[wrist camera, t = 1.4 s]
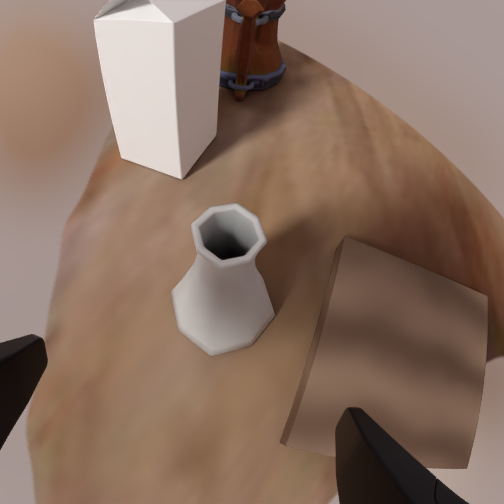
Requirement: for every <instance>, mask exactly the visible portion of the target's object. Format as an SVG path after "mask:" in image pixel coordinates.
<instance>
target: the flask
mask: <svg viewBox="0 0 504 504" xmlns="http://www.w3.org/2000/svg"><path fill="white" fill-rule="evenodd" d="M191 228H192V233H193V237H194V242H195V246H196V251H197V256H196V260H195V263H194V264H193V265H192V267H191V268H190V269H189V271H188V272H187V273H186V275H185V276H184V277H183V279H182V280H181V281H180V282H179V283H178V284H177V285H176V287H175V288H174V289H173V290H172V291H171V296H172V301H173V306H174V311H175V315H176V320H177V324H178V329H179V331H181V332H182V333H183V334H184V335H185V336H187V337H188V338H189V339H190V340H191V341H193V342H194V343H195V344H196V345H198V346H199V347H200V348H201V349H202V350H204V351H205V352H206V353H207V354H209V355H210V356H213V355H218V354H222V353H226V352H230V351H234V350H238V349H242V348H246V347H250V346H252V345H253V343H254V342H255V341H256V340H257V338H258V337H259V336H260V334H261V333H262V332H263V331H264V329H265V328H266V327H267V325H268V324H269V323H270V321H271V320H272V319H273V318H274V316H275V313H274V310H273V307H272V304H271V301H270V298H269V295H268V292H267V289H266V286H265V283H264V280H263V278H262V276H261V274H260V273H259V271H258V270H257V268H256V266H255V258H256V255H257V254H258V252H259V251H260V250H261V249H262V248H263V247H264V246H265V244H266V243H267V239H266V236H265V233H264V231H263V228H262V225H261V222H260V219H259V217H258V216H256V215H255V214H253V213H252V212H250V211H249V210H248V209H246V208H245V207H243V206H242V205H240V204H239V203H237V202H235V203H229V204H224V205H218V206H212V207H209V208H208V209H207V210H206V211H205V212H204V213H203V214H202V215H201V216H200V217H199V218H198V219H197V220H196V221H194V222H193V223H192V224H191Z"/></svg>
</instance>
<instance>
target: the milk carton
mask: <svg viewBox="0 0 504 504" xmlns="http://www.w3.org/2000/svg"><path fill="white" fill-rule="evenodd" d="M225 6H226V0H109V1H108V2H107V4H106V5H105V6H104V7H103V8H102V10H101V11H100V12H99V13H98V14H97V16H96V17H95V18H94V28H95V34H96V41H97V47H98V53H99V59H100V65H101V70H102V76H103V81H104V86H105V91H106V95H107V100H108V105H109V109H110V113H111V118H112V122H113V126H114V130H115V134H116V138H117V142H118V146H119V150H120V154H121V157H122V158H123V159H126V160H129V161H131V162H134V163H137V164H140V165H143V166H146V167H148V168H151V169H154V170H157V171H160V172H163V173H165V174H168V175H171V176H174V177H176V178H179V179H183V178H184V177H185V175H186V174H187V173H188V171H189V170H190V169H191V167H192V166H193V165H194V163H195V162H196V161H197V159H198V158H199V157H200V156H201V154H202V153H203V152H204V150H205V149H206V148H207V147H208V145H209V144H210V143H211V141H212V140H213V139H214V138H215V136H216V133H217V114H218V97H219V81H220V66H221V52H222V40H223V28H224V16H225Z"/></svg>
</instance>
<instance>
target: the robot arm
mask: <svg viewBox="0 0 504 504" xmlns="http://www.w3.org/2000/svg"><path fill="white" fill-rule="evenodd" d="M47 363H48V358H47V353H46V347H45V342H44V340H43V338H41V337H39V336H37V335H34V334H30V335H27V336H23V337H20V338H16V339H13V340H10V341H6V342H2V343H0V450H1V448H2V446H3V444H4V443H5V441H6V439H7V437H8V436H9V434H10V432H11V430H12V429H13V427H14V425H15V424H16V422H17V420H18V419H19V417H20V415H21V414H22V412H23V411H24V409H25V407H26V406H27V404H28V402H29V400H30V398H31V396H32V394H33V392H34V390H35V388H36V386H37V384H38V382H39V380H40V378H41V376H42V374H43V373H44V371H45V369H46V367H47ZM335 452H336V480H337V487H338V495H339V502H340V504H469V503H467V502H466V501H465V500H463V499H462V498H460V497H459V496H458V495H457V494H455V493H454V492H453V491H452V490H450V489H449V488H448V487H447V486H446V485H445V484H443V483H442V482H441V481H440V480H439V479H436V477H435V476H434V475H433V474H432V473H431V472H430V471H429V470H428V469H426V468H425V467H424V466H423V465H422V464H421V463H420V462H419V461H418V460H416V459H415V458H414V457H413V456H412V455H411V454H410V453H409V452H408V451H407V450H405V449H404V448H403V447H402V446H401V445H400V444H399V443H398V442H397V441H396V440H395V439H394V438H392V437H391V436H390V435H389V434H388V433H387V432H386V431H385V430H384V429H383V428H382V427H381V426H380V425H379V424H378V423H376V422H375V421H374V420H373V419H372V418H371V417H370V416H369V415H368V414H367V413H366V412H365V411H364V410H363V409H362V408H359V407H347V408H346V409H345V411H344V412H343V414H342V416H341V418H340V420H339V422H338V424H337V426H336V429H335Z"/></svg>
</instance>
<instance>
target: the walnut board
mask: <svg viewBox="0 0 504 504" xmlns="http://www.w3.org/2000/svg"><path fill="white" fill-rule="evenodd" d="M487 332H488V296H485V295H483V294H481V293H479V292H477V291H475V290H472V289H470V288H468V287H466V286H464V285H461V284H459V283H457V282H455V281H452V280H450V279H448V278H445V277H443V276H441V275H439V274H436V273H434V272H432V271H429V270H427V269H425V268H422V267H420V266H418V265H415V264H413V263H410V262H408V261H406V260H403V259H401V258H398V257H396V256H393V255H391V254H389V253H386V252H384V251H381V250H379V249H376V248H374V247H371V246H369V245H366V244H364V243H361V242H359V241H356V240H353V239H351V238H348V237H346V236H345V237H344V238H343V240H342V241H341V242H340V244H339V245H338V247H337V248H336V252H335V257H334V261H333V265H332V269H331V273H330V278H329V282H328V286H327V290H326V294H325V297H324V301H323V305H322V309H321V313H320V316H319V320H318V324H317V327H316V331H315V334H314V338H313V341H312V345H311V348H310V352H309V355H308V358H307V362H306V365H305V368H304V371H303V375H302V378H301V381H300V384H299V387H298V390H297V393H296V396H295V399H294V402H293V405H292V408H291V411H290V414H289V417H288V420H287V423H286V426H285V429H284V431H283V434H282V437H281V440H280V442H279V443H281V444H283V445H285V446H289V447H292V448H296V449H301V450H305V451H309V452H314V453H318V454H323V455H328V456H333V457H336V452H335V429H336V426H337V424H338V422H339V420H340V418H341V416H342V414H343V412H344V411H345V409H346V408H347V407H359V408H362V409H363V410H364V411H365V412H366V413H367V414H368V415H369V416H370V417H371V418H372V419H373V420H374V421H375V422H376V423H378V424H379V425H380V426H381V427H382V428H383V429H384V430H385V431H386V432H387V433H388V434H389V435H390V436H391V437H392V438H394V439H395V440H396V441H397V442H398V443H399V444H400V445H401V446H402V447H403V448H404V449H405V450H407V451H408V452H409V453H410V454H411V455H412V456H413V457H414V458H415V459H416V460H418V461H419V462H420V463H421V464H422V465H423V466H424V467H425V468H441V469H442V468H443V469H444V468H445V469H466V468H467V466H468V462H469V458H470V455H471V450H472V446H473V442H474V437H475V433H476V428H477V423H478V418H479V412H480V406H481V400H482V393H483V385H484V376H485V366H486V353H487Z"/></svg>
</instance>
